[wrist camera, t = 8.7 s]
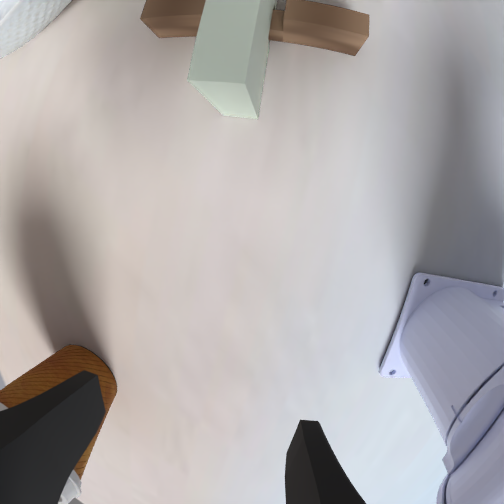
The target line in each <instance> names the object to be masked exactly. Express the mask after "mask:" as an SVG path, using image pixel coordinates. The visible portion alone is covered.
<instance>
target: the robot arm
mask: <svg viewBox="0 0 504 504" xmlns="http://www.w3.org/2000/svg"><path fill="white" fill-rule="evenodd" d="M426 279H428V281H427V283H426V284H424V281H425V280H426ZM493 292H494V294H493ZM503 301H504V288H503V287H500V286H494V285H488V284H483V283H477V282H472V281H466V280H460V279H455V278H449V277H443V276H438V275H432V274H426V273H417V274H415V275H414V277H413V279H412V282H411V285H410V288H409V291H408V295H407V298H406V301H405V304H404V307H403V310H402V313H401V315H400V318H399V321H398V324H397V326H396V329H395V332H394V334H393V337H392V340H391V342H390V345H389V347H388V350H387V352H386V355H385V357H384V359H383V362H382V364H381V366H380V369H379V373H380V376H382V377H397V378H412V380H413V382H414V384H415V385H416V387H417V389H418V391H419V393H420V395H421V397H422V398H423V400H424V402H425V404H426V406H427V408H428V410H429V412H430V414H431V416H432V418H433V420H434V422H435V424H436V426H437V428H438V430H439V432H440V434H441V436H442V438H443V440H444V442H445V444H446V446H447V453H446V455H445V456H444V457H443V459H442V460H443V463H444V465H445V467H446V470H447V472H448V474H447V475H446V477H445V478H444V479H443V481H442V483H441V485H440V487H439V490H438V494H437V504H504V302H503ZM391 370H393V371H392V372H390V371H391ZM105 413H106V410H105V406H104V402H103V397H102V393H101V388H100V383H99V378H98V375H96V374H94V373H91V372H88V371H86V370H83V371H82V372H80V373H78V374H76V375H74V376H72V377H71V378H69V379H67V380H65V381H63V382H62V383H60V384H58V385H56V386H54V387H53V388H51V389H49V390H47V391H45V392H43V393H41V394H39V395H38V396H35V397H33V398H31V399H29V400H27V401H25V402H22V403H20V404H18V405H16V406H13V407H11V408H8V409H5V410H2V411H0V504H58V502H59V499H60V496H61V494H62V491H63V489H64V487H65V485H66V482H67V480H68V478H69V476H70V474H71V473H72V471H73V469H74V468H75V466H76V464H77V463H78V461H79V460H80V458H81V457H82V455H83V453H84V452H85V450H86V449H87V447H88V446H89V444H90V442H91V441H92V439H93V438H94V436H95V434H96V433H97V431H98V429H99V427H100V424H101V422H102V420H103V418H104V415H105ZM285 492H286V504H366V503H365V501H364V500H363V499H362V497H361V496H360V495H359V493H358V492H357V491H356V489H355V488H354V486H353V485H352V483H351V482H350V480H349V479H348V477H347V475H346V474H345V472H344V470H343V469H342V467H341V465H340V463H339V462H338V460H337V458H336V456H335V454H334V452H333V450H332V449H331V447H330V445H329V443H328V440H327V438H326V436H325V434H324V432H323V430H322V427H321V425H320V423H319V422H318V421H309V420H300V422H299V424H298V427H297V429H296V432H295V434H294V437H293V439H292V441H291V444H290V446H289V449H288V451H287V455H286V468H285Z"/></svg>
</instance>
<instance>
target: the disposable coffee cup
mask: <svg viewBox="0 0 504 504" xmlns="http://www.w3.org/2000/svg"><path fill="white" fill-rule="evenodd" d="M83 370H86V371H88V372H91V373H94V374H96V375H98V378H99V383H100V388H101V393H102V397H103V402H104V406H105V410H106V413H105V415H104V418H103V420H102V422H101V424H100V427H99V429H98V431H97V433H96V434H95V436H94V438H93V439H92V441H91V442H90V444H89V446H88V447H87V449H86V450H85V452H84V453H83V455H82V457H81V458H80V460H79V461H78V463H77V464H76V466H75V468H74V469H73V471H72V473H71V474H70V476H69V478H68V480H67V482H66V485H65V487H64V489H63V491H62V494H61V496H60V499H59V502H58V504H68V503H69V502H70V501H71V500H72V499H73V498H78V497H80V495H81V489H80V487H81V481H80V480H81V477H82V475H83V472H84V469H85V467H86V464H87V462H88V459H89V457H90V454H91V451H92V449H93V446H94V445H95V441H96V439H97V437H98V434H99V432H100V429H101V428H102V425H103V423H104V420H105V418H106V415H107V413H108V411H109V408H110V406H111V404H112V402H113V399H114V397H115V396H116V393H117V385H116V381H115V378H114V376H113V375H112V373H111V371H110V370H109V368H108V367H107V366H106V365H105V363H104V362H103V361H102V360H101V359H100V358H99V357H97V356H96V355H95V354H93V353H92V352H91V351H89V350H87V349H85V348H83V347H81V346H77V345H68V346H65V347H64V348H62V349H61V350H59V351H58V352H56V353H55V354H53V355H52V356H50V357H49V358H47V359H46V360H44V361H43V362H41V363H40V364H38V365H37V366H35V367H34V368H32V369H31V370H29V371H28V372H26V373H25V374H23V375H22V376H20V377H19V378H17V379H16V380H14V381H13V382H11V383H10V384H8V385H7V386H6V387H5V388H3V389H2V390H0V411H2V410H5V409H8V408H11V407H13V406H16V405H18V404H20V403H22V402H25V401H27V400H29V399H31V398H33V397H35V396H38V395H39V394H41V393H43V392H45V391H47V390H49V389H51V388H53V387H54V386H56V385H58V384H60V383H62V382H63V381H65V380H67V379H69V378H71V377H72V376H74V375H76V374H78V373H80V372H82V371H83Z"/></svg>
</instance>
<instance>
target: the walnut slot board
mask: <svg viewBox="0 0 504 504" xmlns="http://www.w3.org/2000/svg"><path fill="white" fill-rule="evenodd" d="M205 1H206V0H146V3H145V6H144V9H143V12H142V15H141V18H140V19H141V20H142V21H143V22H144V23H145V24H146V25H147V26H148V27H149V28H150V29H151V30H152V31H153V32H154V33H155V34H156V35H157V36H158V37H159V38H165V37H189V36H197V32H198V28H199V24H200V20H201V16H202V13H203V9H204V5H205ZM368 37H369V15H368V14H364V13H360V12H357V11H353V10H349V9H345V8H341V7H336V6H332V5H327V4H322V3H317V2H311V1H305V0H286V7H285V11H282V10H274V9H273V12H272V18H271V24H270V30H269V36H268V39H269V40H272V41H281V42H288V43H295V44H301V45H307V46H312V47H318V48H323V49H328V50H332V51H337V52H341V53H345V54H349V55H353V56H355V55H356V54H357V52H358V51H359V49H360V48H361V47H362V45H363V44H364V42H365V41H366V40H367V38H368Z"/></svg>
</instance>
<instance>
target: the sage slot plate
mask: <svg viewBox="0 0 504 504" xmlns="http://www.w3.org/2000/svg"><path fill="white" fill-rule="evenodd" d="M276 5H277V0H206V1H205V5H204V9H203V13H202V16H201V20H200V24H199V28H198V32H197V37H196V41H195V45H194V50H193V54H192V59H191V63H190V68H189V73H188V78H187V81H188V82H189V83H190V84H191V85H192V86H193V87H195V88H196V89H197V90H198V91H199V92H200V93H201V94H202V95H203V96H204V97H205V98H206V99H207V100H208V101H209V102H210V103H211V104H212V105H213V106H214V107H215V108H216V109H217V110H218V111H219V112H220V113H221V114H222V115H223V116H233V117H242V118H251V119H258V116H259V110H260V103H261V97H262V91H263V84H264V78H265V72H266V65H267V59H268V53H269V39H268V36H269V30H270V24H271V18H272V12H273V9H274V10H276Z"/></svg>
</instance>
